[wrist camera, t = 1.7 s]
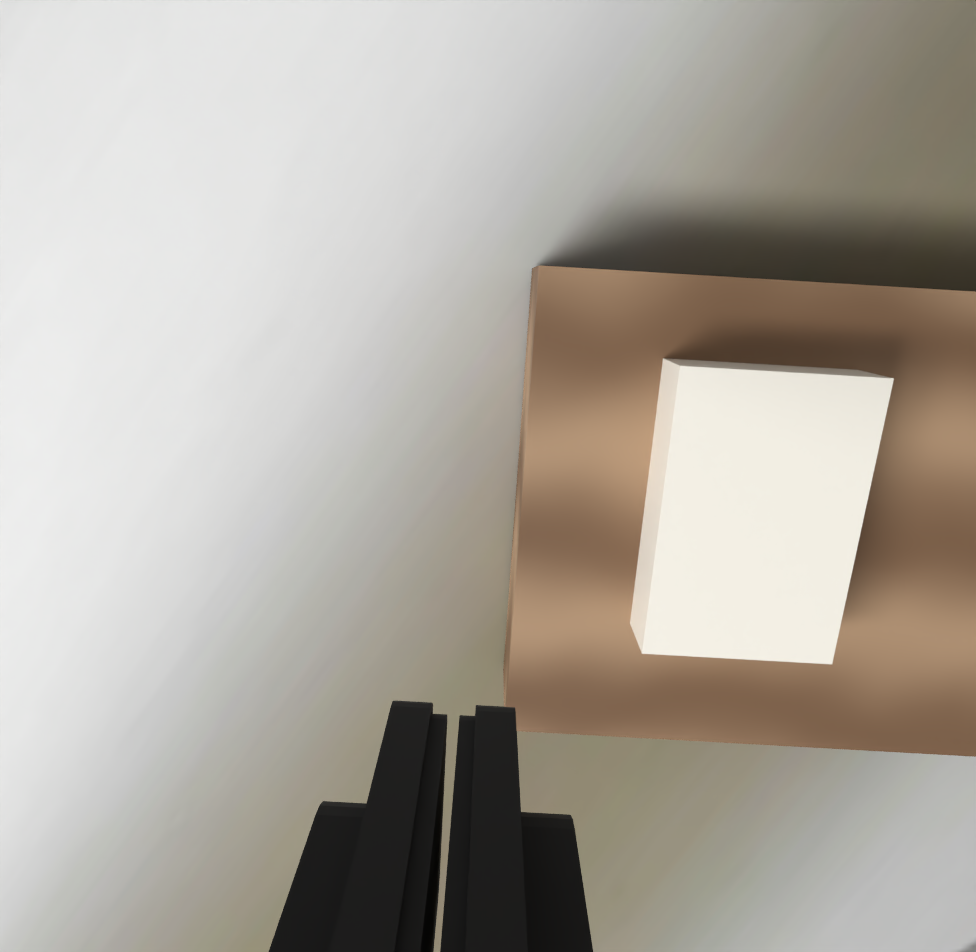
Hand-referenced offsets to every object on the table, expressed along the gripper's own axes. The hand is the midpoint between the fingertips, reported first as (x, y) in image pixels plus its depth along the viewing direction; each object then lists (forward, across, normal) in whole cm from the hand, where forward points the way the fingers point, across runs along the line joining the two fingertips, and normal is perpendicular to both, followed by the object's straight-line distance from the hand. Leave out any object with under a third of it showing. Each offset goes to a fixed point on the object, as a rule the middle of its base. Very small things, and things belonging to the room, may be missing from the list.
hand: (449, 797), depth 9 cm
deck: (+18, -10, 0) cm, 20 cm away
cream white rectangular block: (+13, -8, 0) cm, 16 cm away
